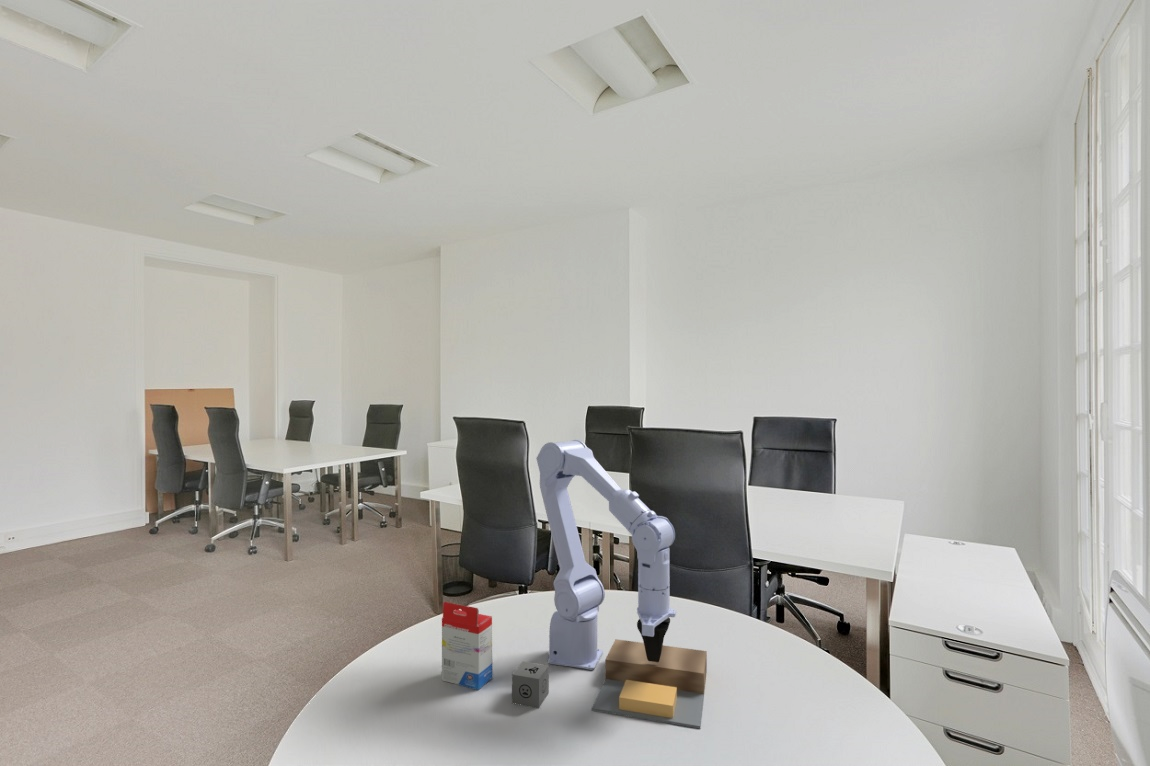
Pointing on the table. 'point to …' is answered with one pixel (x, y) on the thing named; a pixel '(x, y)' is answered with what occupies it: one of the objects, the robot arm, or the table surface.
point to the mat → (684, 714)
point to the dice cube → (530, 684)
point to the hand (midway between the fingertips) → (653, 660)
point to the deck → (657, 666)
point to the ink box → (466, 646)
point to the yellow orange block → (648, 698)
